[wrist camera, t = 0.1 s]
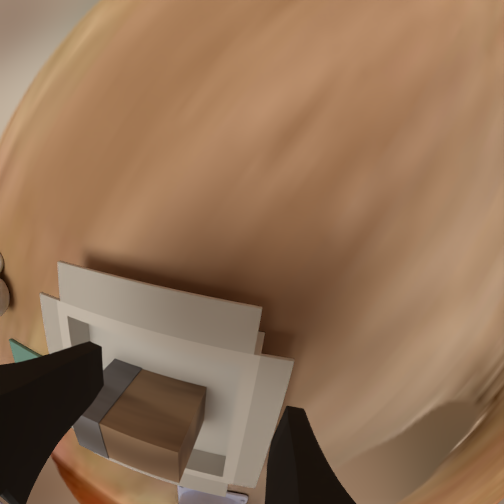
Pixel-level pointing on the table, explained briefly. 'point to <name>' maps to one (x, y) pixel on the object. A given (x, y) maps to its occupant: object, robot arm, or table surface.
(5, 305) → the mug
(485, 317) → the table surface
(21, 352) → the mat
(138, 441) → the box
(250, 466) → the off-white shallow square tray
